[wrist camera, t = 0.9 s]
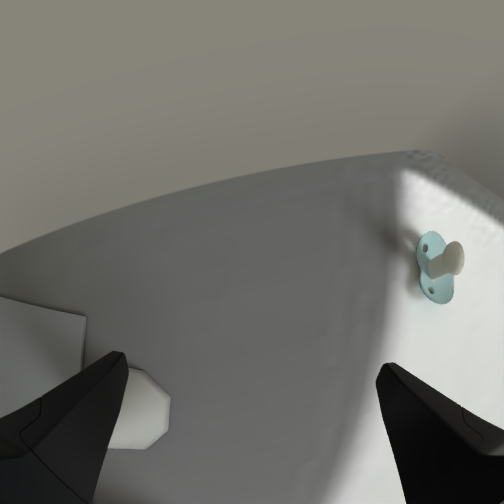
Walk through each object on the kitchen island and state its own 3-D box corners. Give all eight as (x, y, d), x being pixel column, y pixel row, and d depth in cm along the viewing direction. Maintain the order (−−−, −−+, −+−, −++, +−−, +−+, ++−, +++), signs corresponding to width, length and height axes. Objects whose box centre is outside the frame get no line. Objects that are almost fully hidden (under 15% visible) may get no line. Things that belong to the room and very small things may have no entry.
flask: (109, 348, 20) (37, 340, 10) (186, 392, 19) (155, 423, 10) (80, 416, 17) (9, 439, 8) (153, 461, 17) (111, 518, 7)
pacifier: (444, 243, 26) (406, 238, 26) (480, 220, 20) (444, 211, 20) (453, 306, 24) (415, 308, 23) (495, 292, 18) (460, 294, 17)
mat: (93, 510, 13) (92, 512, 13) (0, 463, 12) (-2, 463, 12) (86, 316, 20) (84, 316, 20) (-4, 295, 19) (-6, 294, 19)
